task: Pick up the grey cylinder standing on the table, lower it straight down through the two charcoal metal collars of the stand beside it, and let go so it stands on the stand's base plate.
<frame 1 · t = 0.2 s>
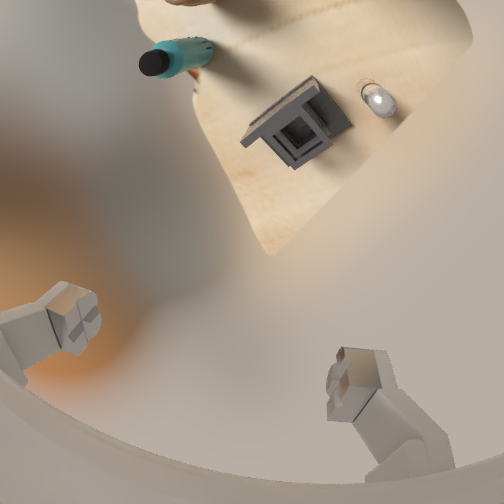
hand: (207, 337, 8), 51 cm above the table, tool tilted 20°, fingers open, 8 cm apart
grey cylinder: (366, 88, 43), on the table
beverage bottle: (201, 51, 44), on the table
collar stand: (300, 121, 51), on the table
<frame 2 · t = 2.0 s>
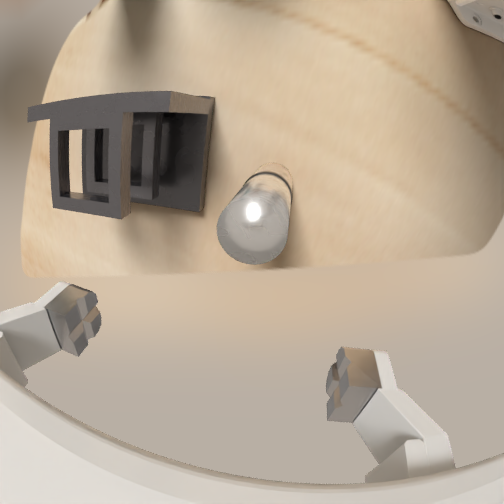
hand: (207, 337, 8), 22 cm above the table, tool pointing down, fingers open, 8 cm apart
grey cylinder: (272, 182, 28), on the table
collar stand: (141, 148, 29), on the table
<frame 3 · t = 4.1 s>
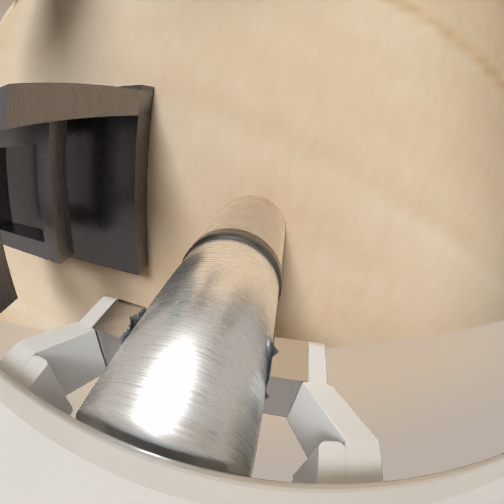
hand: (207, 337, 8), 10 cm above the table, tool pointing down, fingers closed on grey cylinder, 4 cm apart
grey cylinder: (251, 228, 17), on the table, touching gripper
collar stand: (60, 174, 17), on the table
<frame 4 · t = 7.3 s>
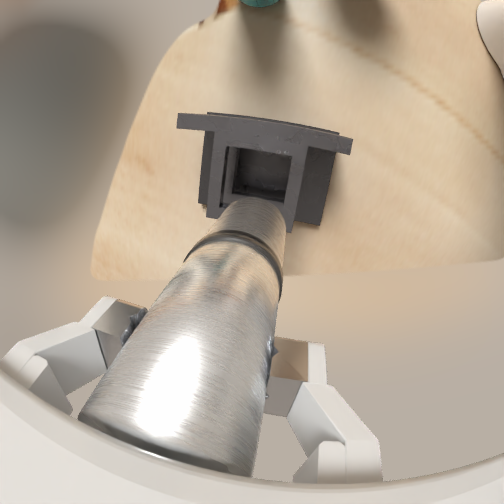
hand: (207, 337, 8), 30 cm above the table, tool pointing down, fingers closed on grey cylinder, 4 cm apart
grey cylinder: (252, 229, 17), point 20 cm above the table, touching gripper
collar stand: (266, 165, 35), on the table
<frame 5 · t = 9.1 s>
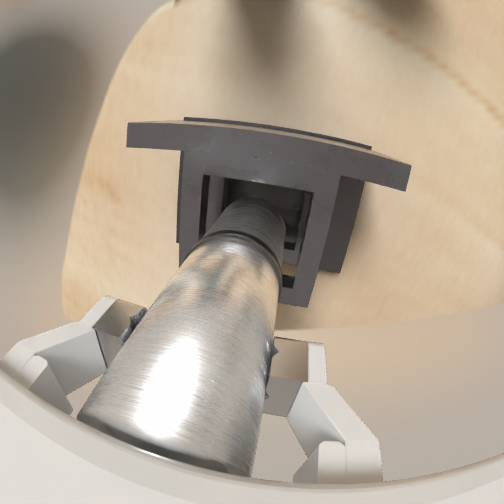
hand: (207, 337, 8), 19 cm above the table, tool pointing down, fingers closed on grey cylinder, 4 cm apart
grey cylinder: (252, 229, 17), point 9 cm above the table, touching gripper
collar stand: (268, 191, 25), on the table
when the fingers open (13 cm above the table, at t = 10.6 s): grey cylinder drops 2 cm, resting on collar stand.
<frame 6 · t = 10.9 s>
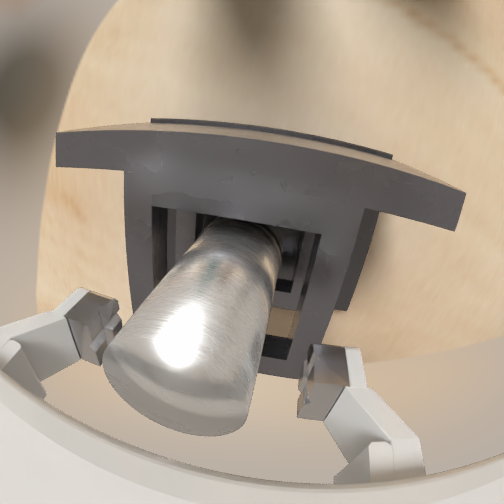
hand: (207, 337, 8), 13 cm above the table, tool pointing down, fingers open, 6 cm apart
grey cylinder: (256, 219, 19), point 2 cm above the table, touching collar stand
collar stand: (258, 211, 20), on the table
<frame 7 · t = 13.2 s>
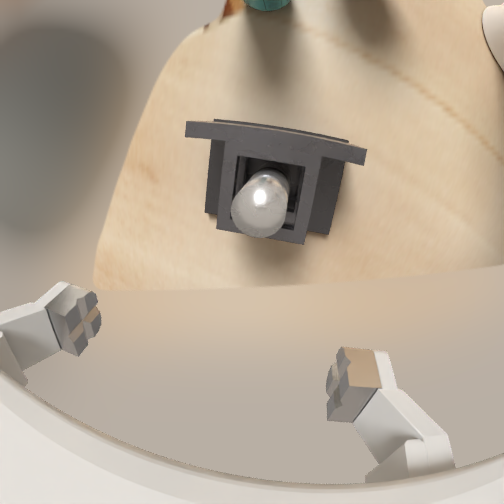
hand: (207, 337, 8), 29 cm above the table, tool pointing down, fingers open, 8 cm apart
grey cylinder: (274, 176, 33), point 2 cm above the table, touching collar stand
collar stand: (274, 174, 34), on the table
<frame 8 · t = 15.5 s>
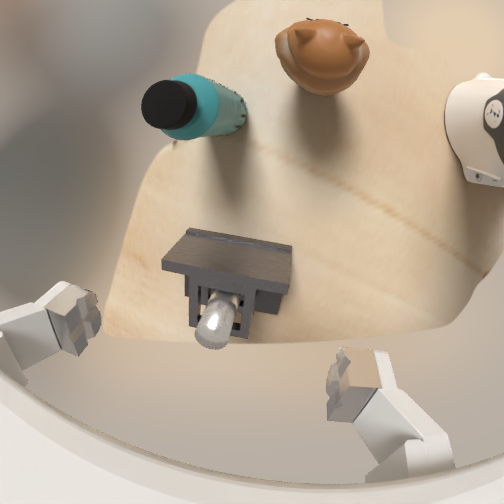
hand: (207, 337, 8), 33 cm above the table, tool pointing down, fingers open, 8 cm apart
grey cylinder: (233, 275, 44), point 2 cm above the table, touching collar stand
cat ice cream: (313, 76, 32), on the table
beverage bottle: (226, 112, 36), on the table
collar stand: (235, 270, 46), on the table
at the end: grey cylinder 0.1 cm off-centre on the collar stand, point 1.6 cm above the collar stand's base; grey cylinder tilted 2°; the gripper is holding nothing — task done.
